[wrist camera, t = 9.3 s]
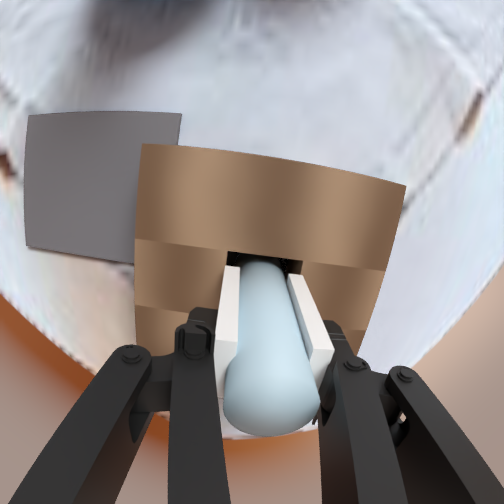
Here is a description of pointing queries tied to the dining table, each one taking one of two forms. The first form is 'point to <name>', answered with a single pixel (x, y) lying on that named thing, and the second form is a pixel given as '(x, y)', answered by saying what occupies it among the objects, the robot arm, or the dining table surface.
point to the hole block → (256, 234)
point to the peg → (268, 356)
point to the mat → (88, 179)
